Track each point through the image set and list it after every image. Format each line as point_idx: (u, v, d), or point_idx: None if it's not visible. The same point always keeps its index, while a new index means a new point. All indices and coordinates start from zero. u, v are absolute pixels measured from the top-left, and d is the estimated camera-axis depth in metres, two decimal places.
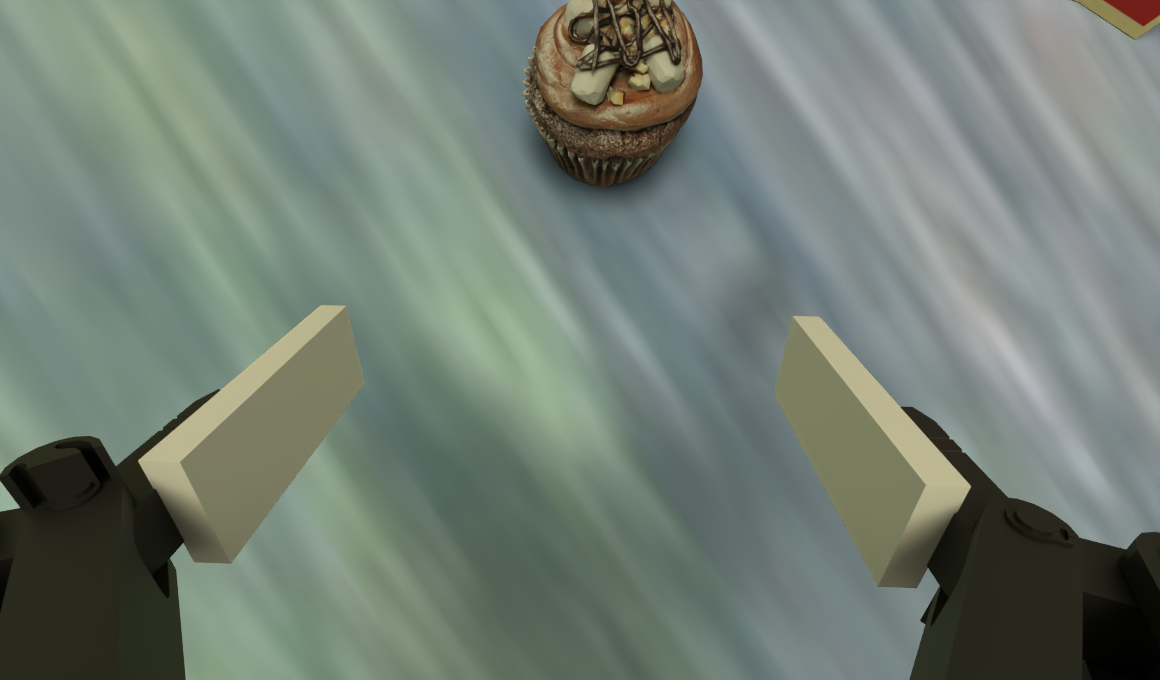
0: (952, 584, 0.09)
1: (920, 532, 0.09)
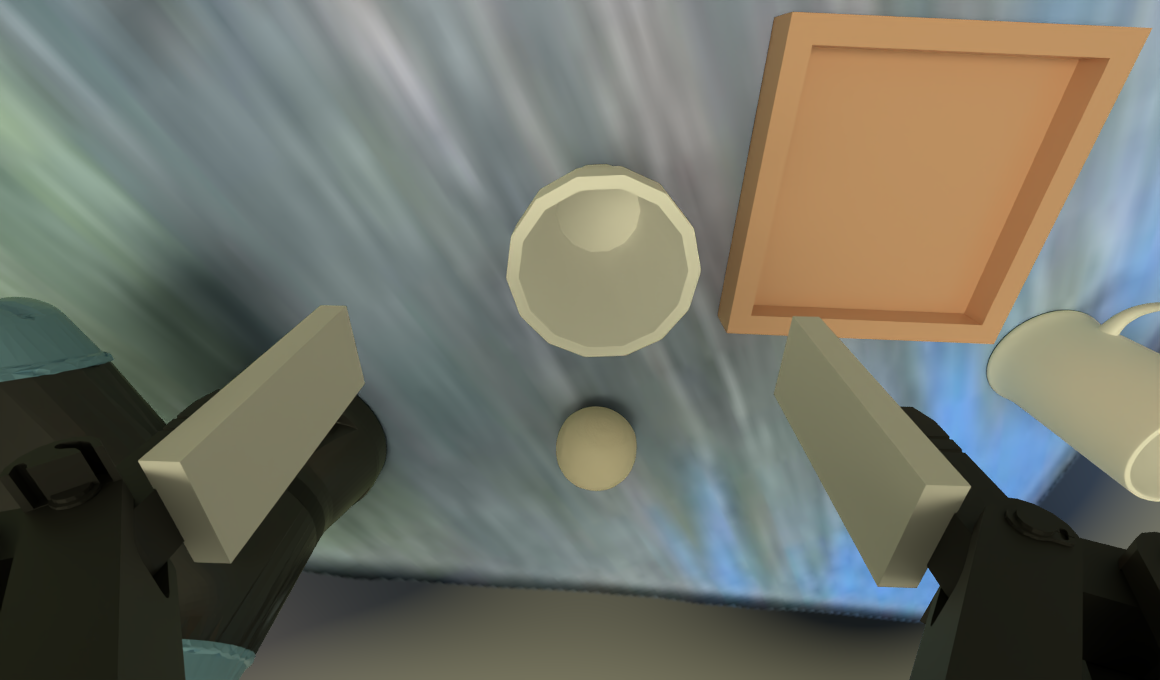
0: (952, 584, 0.09)
1: (920, 532, 0.09)
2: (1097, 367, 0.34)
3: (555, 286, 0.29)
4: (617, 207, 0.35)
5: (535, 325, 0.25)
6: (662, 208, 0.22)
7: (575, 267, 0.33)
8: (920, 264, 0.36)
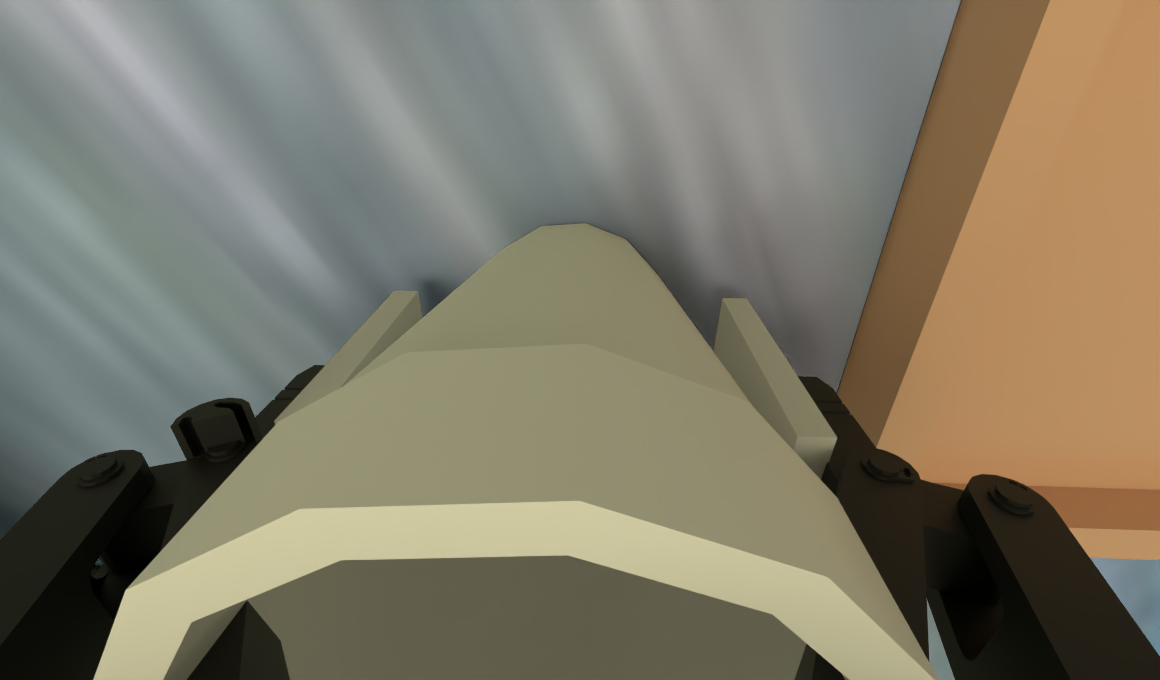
0: None
1: None
2: None
3: (441, 574, 0.11)
4: None
5: None
6: (794, 623, 0.04)
7: None
8: None
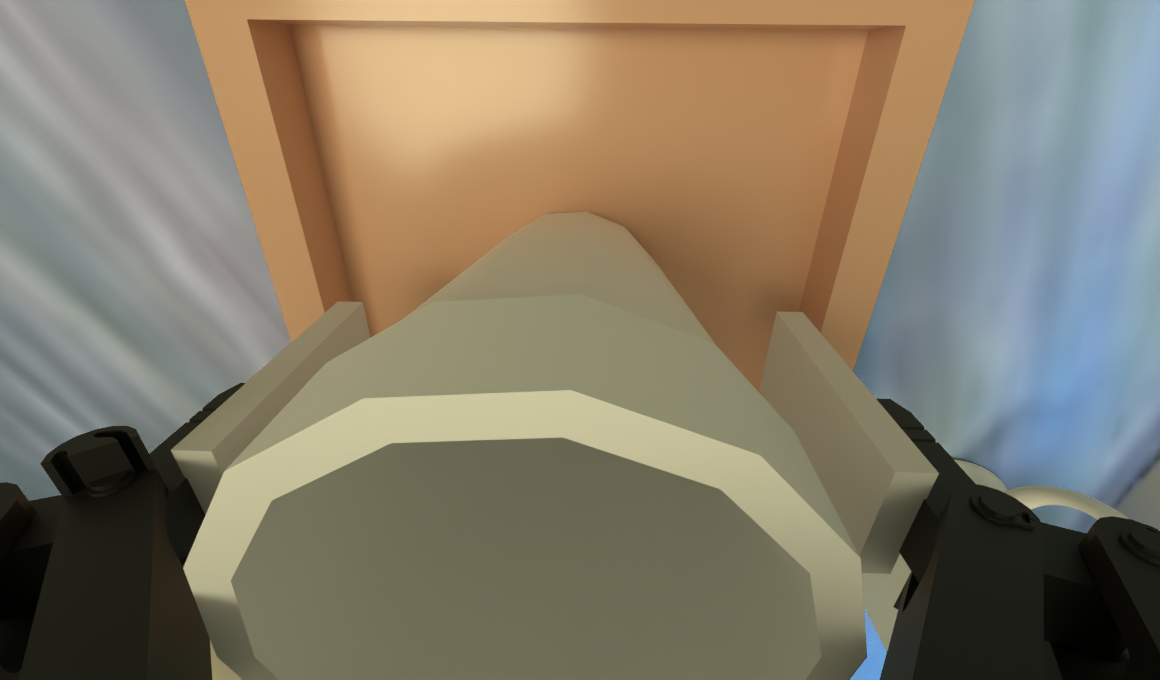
0: (922, 570, 0.09)
1: (891, 518, 0.09)
2: None
3: (455, 522, 0.12)
4: None
5: None
6: (738, 498, 0.05)
7: None
8: None
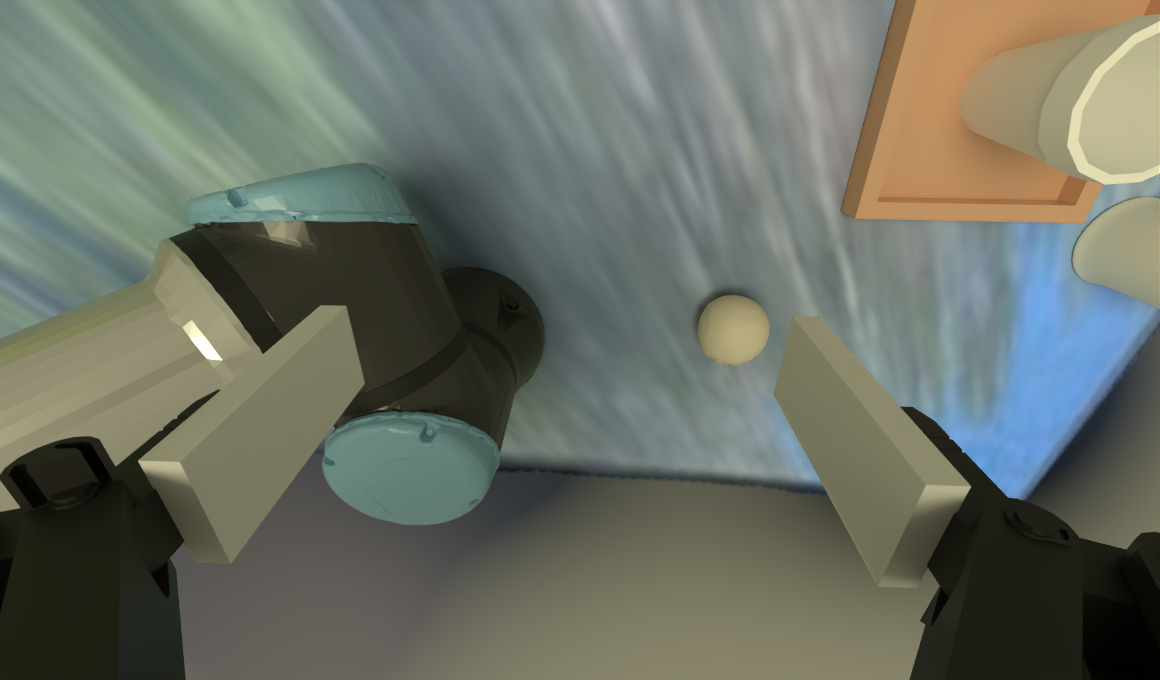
0: (952, 584, 0.09)
1: (920, 532, 0.09)
2: None
3: None
4: None
5: (1075, 155, 0.31)
6: None
7: None
8: (1021, 156, 0.43)
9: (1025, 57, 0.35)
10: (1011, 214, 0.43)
